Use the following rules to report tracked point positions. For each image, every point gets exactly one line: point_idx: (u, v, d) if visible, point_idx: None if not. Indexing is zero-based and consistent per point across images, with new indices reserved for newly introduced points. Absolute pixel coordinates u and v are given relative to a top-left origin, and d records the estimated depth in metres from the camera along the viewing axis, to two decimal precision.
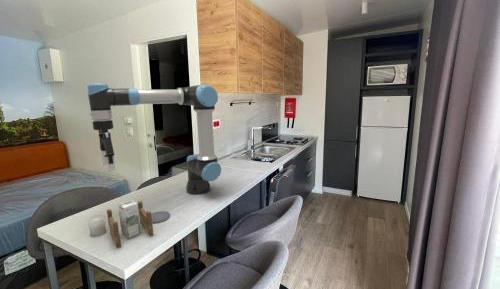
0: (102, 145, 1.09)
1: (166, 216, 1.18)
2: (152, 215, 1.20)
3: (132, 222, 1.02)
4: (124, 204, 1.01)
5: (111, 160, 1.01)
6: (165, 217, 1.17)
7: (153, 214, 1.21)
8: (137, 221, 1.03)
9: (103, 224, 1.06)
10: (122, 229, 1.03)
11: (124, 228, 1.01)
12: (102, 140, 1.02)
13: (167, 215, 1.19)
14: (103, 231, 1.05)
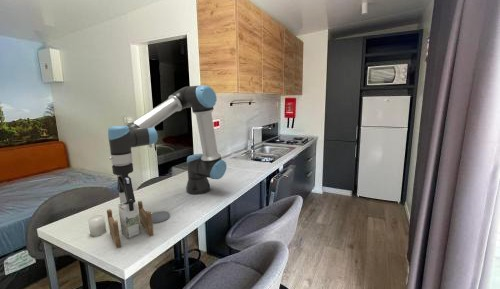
0: (120, 187, 1.04)
1: (166, 216, 1.18)
2: (152, 215, 1.20)
3: (132, 222, 1.02)
4: (124, 204, 1.01)
5: (132, 207, 0.95)
6: (165, 217, 1.17)
7: (153, 214, 1.21)
8: (137, 221, 1.03)
9: (103, 224, 1.06)
10: (122, 229, 1.03)
11: (124, 228, 1.01)
12: (122, 185, 0.97)
13: (167, 215, 1.19)
14: (103, 231, 1.05)
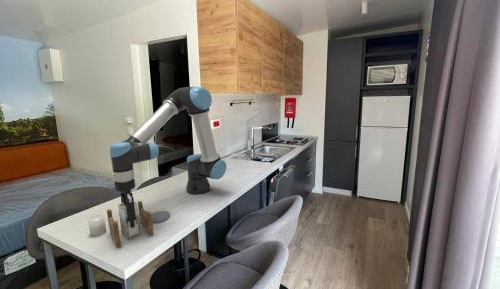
0: None
1: (166, 216, 1.18)
2: (152, 215, 1.20)
3: None
4: None
5: (133, 224, 1.00)
6: (165, 217, 1.17)
7: (153, 214, 1.21)
8: (137, 221, 1.03)
9: (103, 224, 1.06)
10: (122, 229, 1.03)
11: (124, 228, 1.01)
12: (124, 203, 0.99)
13: (167, 215, 1.19)
14: (103, 231, 1.05)
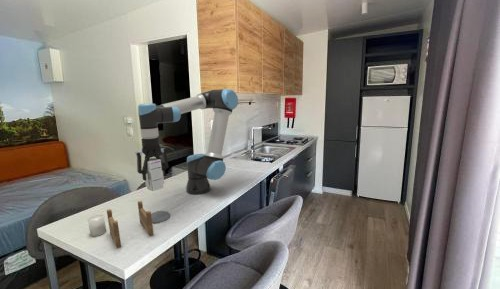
0: None
1: (166, 216, 1.18)
2: (152, 215, 1.20)
3: (148, 176, 1.13)
4: (151, 159, 1.14)
5: (143, 177, 1.11)
6: (165, 217, 1.17)
7: (153, 214, 1.21)
8: (150, 178, 1.11)
9: (103, 223, 1.06)
10: None
11: None
12: (145, 156, 1.12)
13: (167, 215, 1.19)
14: (103, 230, 1.06)
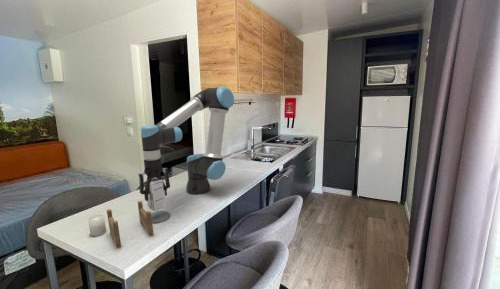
0: None
1: (166, 216, 1.18)
2: (152, 215, 1.20)
3: (150, 196, 1.14)
4: (153, 179, 1.16)
5: (145, 197, 1.13)
6: (165, 217, 1.17)
7: (153, 214, 1.21)
8: (152, 199, 1.13)
9: (104, 223, 1.06)
10: None
11: None
12: (147, 177, 1.14)
13: (167, 215, 1.19)
14: (104, 230, 1.06)
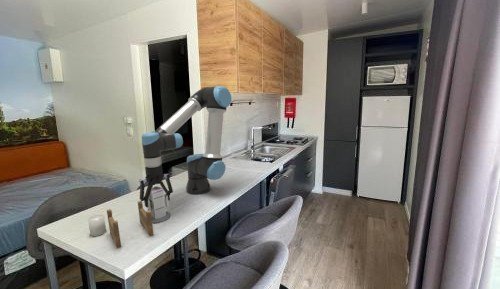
0: None
1: (166, 216, 1.18)
2: None
3: (151, 205, 1.16)
4: (154, 187, 1.17)
5: (145, 204, 1.14)
6: (165, 217, 1.17)
7: None
8: (153, 207, 1.14)
9: (104, 222, 1.06)
10: None
11: None
12: (148, 183, 1.15)
13: (167, 215, 1.19)
14: (104, 230, 1.06)
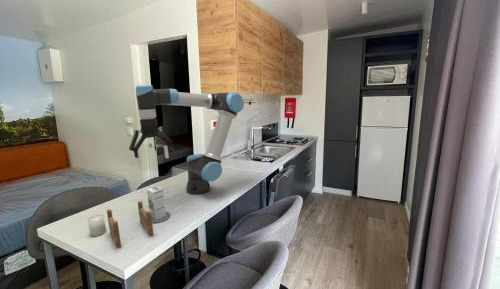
0: None
1: (166, 216, 1.18)
2: None
3: (150, 205, 1.15)
4: (153, 188, 1.17)
5: (134, 154, 1.13)
6: (165, 217, 1.17)
7: None
8: (153, 207, 1.14)
9: (104, 222, 1.07)
10: None
11: None
12: None
13: (167, 215, 1.19)
14: (104, 229, 1.07)
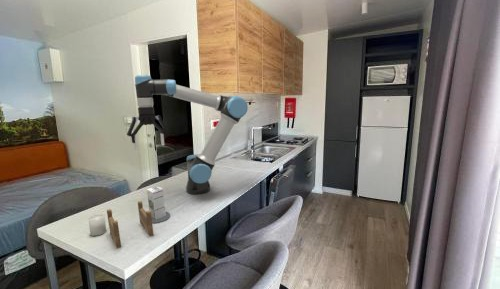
0: (157, 128, 1.29)
1: (166, 216, 1.18)
2: None
3: (150, 205, 1.15)
4: (153, 188, 1.17)
5: (132, 140, 1.21)
6: (165, 217, 1.17)
7: None
8: (153, 207, 1.14)
9: None
10: None
11: None
12: (139, 123, 1.24)
13: (167, 215, 1.19)
14: (105, 229, 1.07)
